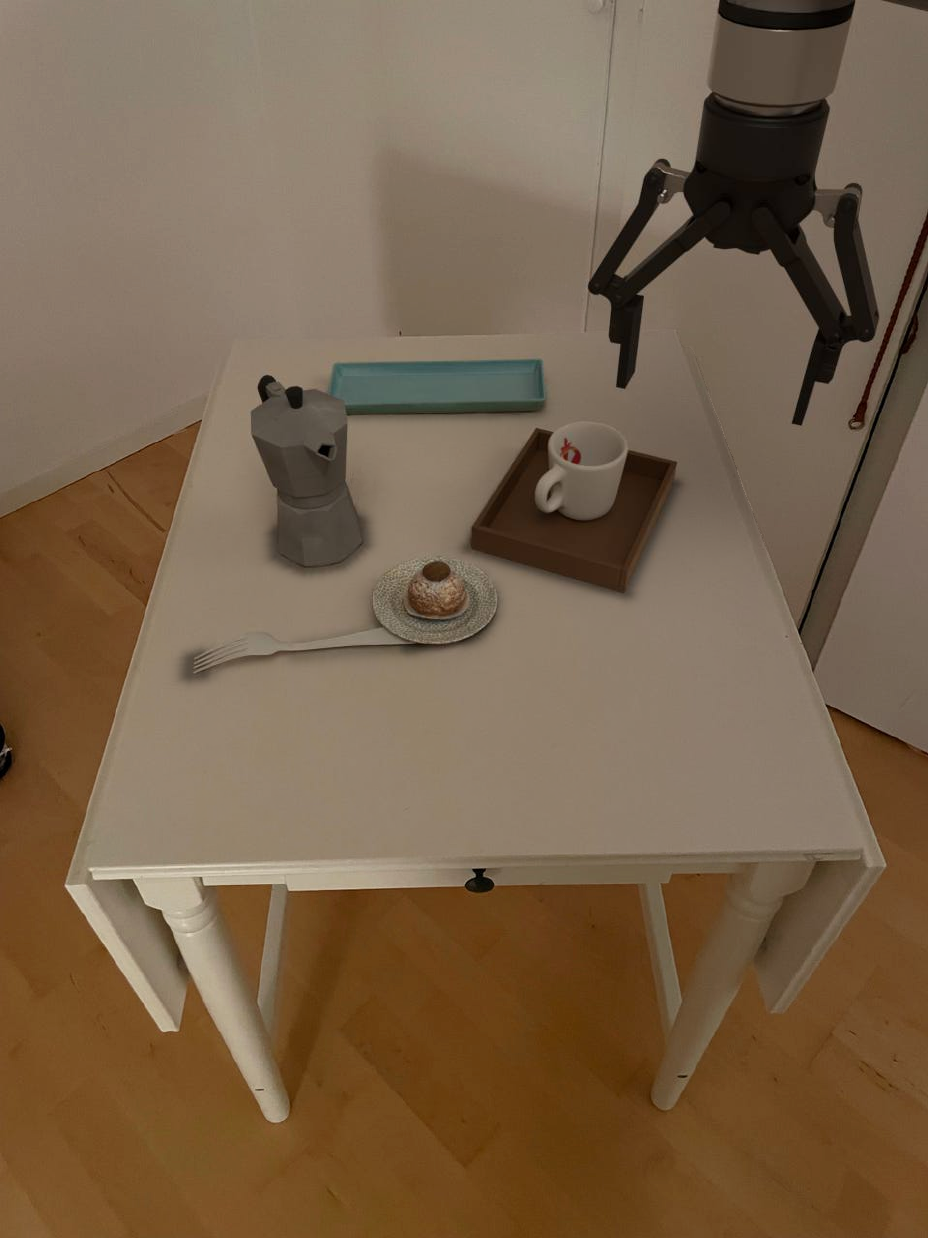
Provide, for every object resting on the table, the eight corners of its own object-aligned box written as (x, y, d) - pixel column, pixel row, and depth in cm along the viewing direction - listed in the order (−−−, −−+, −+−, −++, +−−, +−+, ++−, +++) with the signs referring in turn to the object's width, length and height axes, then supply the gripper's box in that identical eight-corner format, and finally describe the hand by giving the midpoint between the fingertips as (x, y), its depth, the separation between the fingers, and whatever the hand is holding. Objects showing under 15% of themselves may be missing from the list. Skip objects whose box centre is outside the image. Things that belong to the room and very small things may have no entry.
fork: (421, 662, 86) (423, 643, 84) (193, 677, 83) (189, 657, 81) (417, 640, 88) (418, 621, 86) (194, 654, 85) (190, 634, 83)
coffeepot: (390, 557, 93) (375, 407, 80) (306, 593, 90) (275, 443, 76) (323, 478, 102) (299, 331, 89) (244, 508, 99) (207, 360, 85)
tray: (673, 483, 100) (677, 461, 98) (624, 593, 89) (627, 570, 87) (534, 449, 105) (536, 427, 103) (471, 549, 94) (471, 527, 91)
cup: (563, 553, 92) (568, 491, 86) (509, 515, 96) (511, 453, 90) (635, 506, 97) (644, 444, 91) (581, 471, 101) (586, 410, 95)
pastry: (484, 661, 83) (486, 625, 80) (357, 640, 85) (353, 604, 81) (506, 574, 91) (509, 538, 88) (390, 556, 93) (388, 521, 90)
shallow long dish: (326, 419, 110) (324, 401, 108) (335, 376, 116) (332, 359, 114) (545, 417, 109) (546, 400, 107) (542, 375, 115) (543, 357, 113)
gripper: (993, 96, 54) (884, 404, 70) (591, 57, 62) (573, 343, 77) (987, 140, 50) (872, 459, 65) (553, 92, 57) (542, 389, 72)
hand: (710, 397), depth 71 cm, fingers open, 13 cm apart
